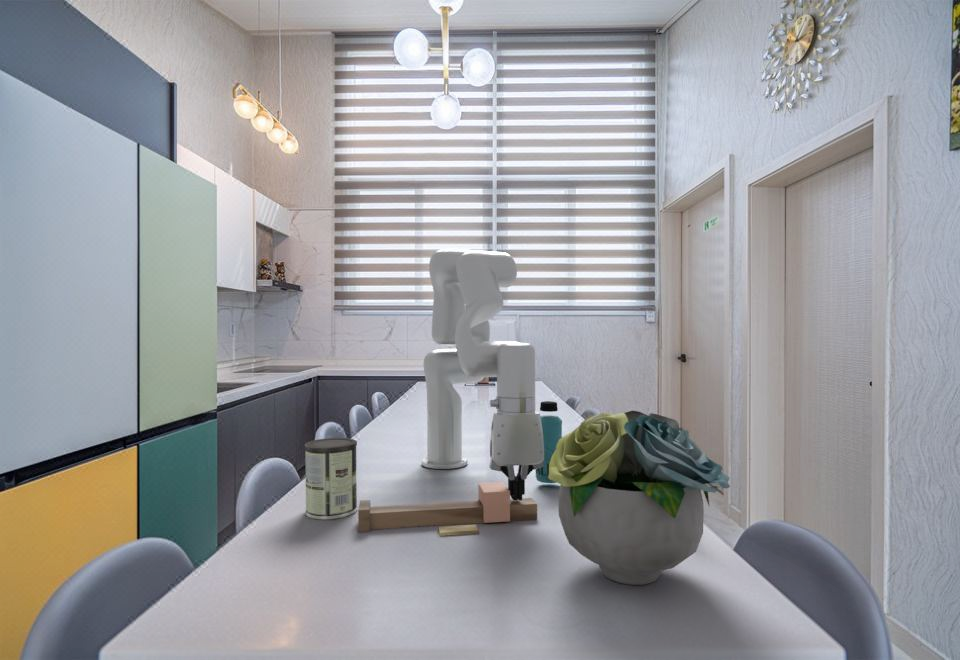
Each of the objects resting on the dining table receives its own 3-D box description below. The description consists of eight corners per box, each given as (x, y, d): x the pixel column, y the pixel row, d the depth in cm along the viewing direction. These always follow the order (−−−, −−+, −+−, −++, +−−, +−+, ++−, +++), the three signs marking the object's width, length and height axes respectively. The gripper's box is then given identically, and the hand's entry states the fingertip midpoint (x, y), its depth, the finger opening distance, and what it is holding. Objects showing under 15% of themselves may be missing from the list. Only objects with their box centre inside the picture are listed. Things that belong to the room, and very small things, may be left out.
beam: (360, 513, 113) (360, 493, 113) (525, 504, 118) (525, 485, 118) (357, 541, 98) (357, 518, 98) (545, 529, 103) (545, 507, 103)
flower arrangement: (659, 537, 99) (659, 399, 99) (758, 604, 75) (757, 421, 75) (525, 549, 94) (524, 403, 94) (584, 625, 70) (583, 429, 70)
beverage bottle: (562, 482, 135) (562, 399, 135) (563, 490, 128) (563, 403, 128) (535, 482, 136) (534, 399, 136) (535, 489, 129) (534, 403, 129)
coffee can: (328, 501, 121) (327, 436, 121) (367, 507, 117) (367, 439, 117) (293, 515, 112) (293, 444, 112) (334, 523, 107) (334, 449, 107)
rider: (478, 511, 112) (478, 483, 112) (502, 510, 113) (502, 482, 113) (484, 522, 106) (484, 492, 106) (510, 521, 107) (509, 491, 107)
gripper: (482, 409, 105) (482, 506, 105) (558, 407, 108) (558, 502, 108) (475, 404, 113) (475, 495, 113) (547, 402, 115) (547, 491, 115)
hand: (516, 498), depth 110 cm, fingers closed
